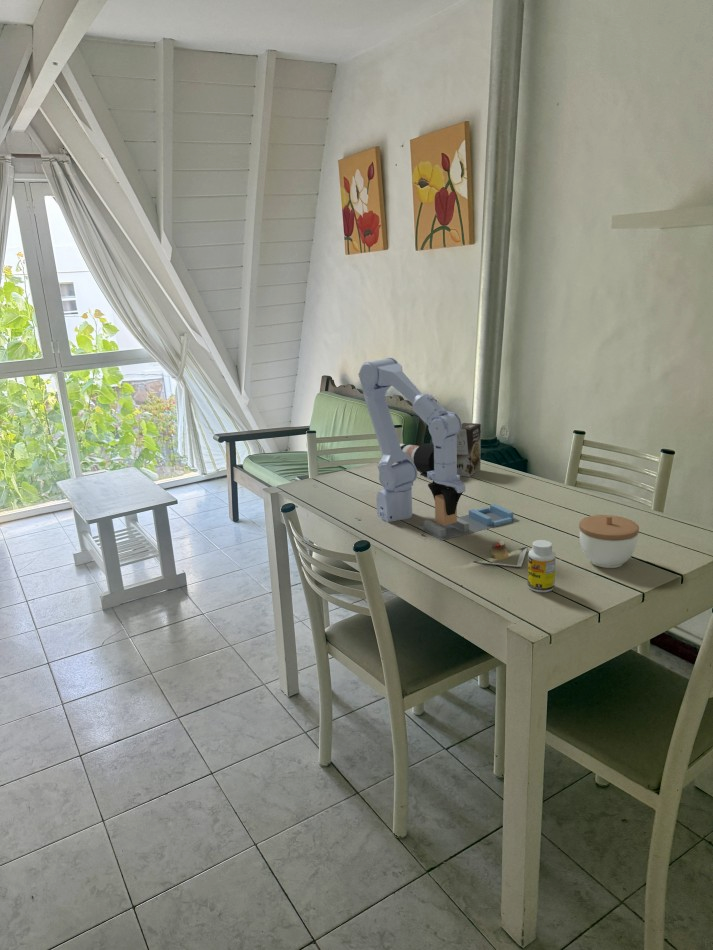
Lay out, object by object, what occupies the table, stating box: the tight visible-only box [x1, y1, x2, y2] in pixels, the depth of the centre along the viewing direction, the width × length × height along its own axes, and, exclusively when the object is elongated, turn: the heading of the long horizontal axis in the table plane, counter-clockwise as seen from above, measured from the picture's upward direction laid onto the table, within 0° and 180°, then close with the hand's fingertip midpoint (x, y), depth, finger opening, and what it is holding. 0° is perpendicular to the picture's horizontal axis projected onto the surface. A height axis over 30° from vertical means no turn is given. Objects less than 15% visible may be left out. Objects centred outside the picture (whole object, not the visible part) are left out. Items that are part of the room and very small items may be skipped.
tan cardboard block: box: [434, 494, 458, 526], centre depth 173 cm, size 4×4×7 cm
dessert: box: [473, 538, 529, 568], centre depth 159 cm, size 12×12×5 cm
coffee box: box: [456, 422, 482, 478], centre depth 221 cm, size 9×6×16 cm
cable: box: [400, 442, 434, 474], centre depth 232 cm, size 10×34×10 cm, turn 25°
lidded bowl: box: [578, 514, 640, 569], centre depth 151 cm, size 13×13×11 cm
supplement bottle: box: [527, 539, 557, 593], centre depth 141 cm, size 6×6×10 cm
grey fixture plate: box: [417, 503, 520, 541], centre depth 177 cm, size 25×11×3 cm, turn 117°
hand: (445, 511), depth 173 cm, fingers closed on tan cardboard block, 4 cm apart
